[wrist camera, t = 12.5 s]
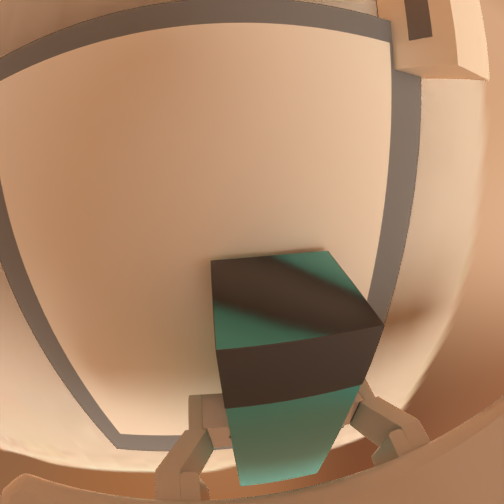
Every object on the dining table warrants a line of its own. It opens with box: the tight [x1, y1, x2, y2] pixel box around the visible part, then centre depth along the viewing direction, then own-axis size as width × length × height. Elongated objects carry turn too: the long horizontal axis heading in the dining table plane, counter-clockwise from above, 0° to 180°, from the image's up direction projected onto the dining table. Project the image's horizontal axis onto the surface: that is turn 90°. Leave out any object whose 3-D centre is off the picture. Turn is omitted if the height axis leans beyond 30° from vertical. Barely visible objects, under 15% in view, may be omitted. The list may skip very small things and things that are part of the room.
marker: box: [211, 251, 384, 486], centre depth 11 cm, size 13×4×4 cm, turn 1°
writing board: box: [0, 0, 421, 451], centre depth 12 cm, size 24×17×1 cm
